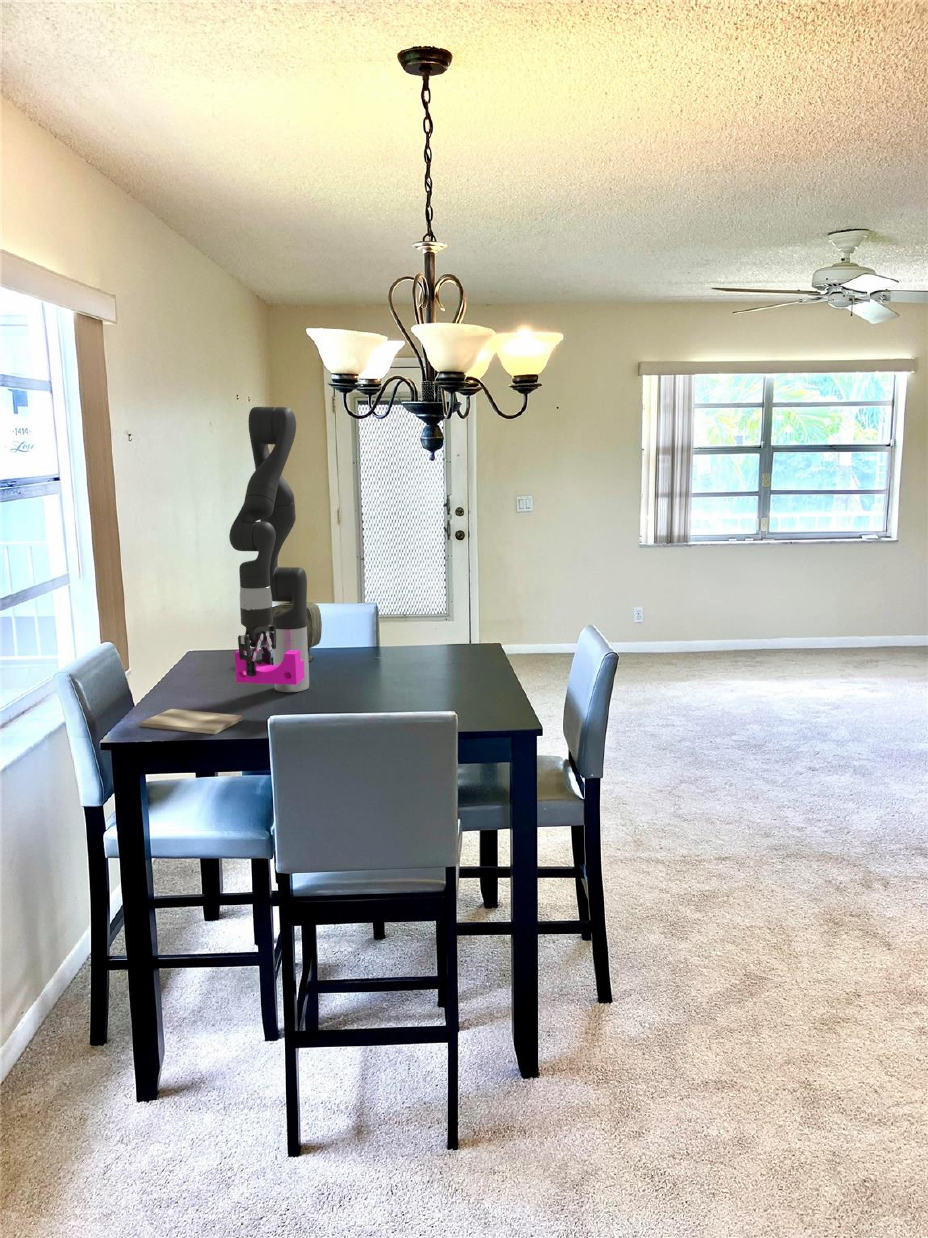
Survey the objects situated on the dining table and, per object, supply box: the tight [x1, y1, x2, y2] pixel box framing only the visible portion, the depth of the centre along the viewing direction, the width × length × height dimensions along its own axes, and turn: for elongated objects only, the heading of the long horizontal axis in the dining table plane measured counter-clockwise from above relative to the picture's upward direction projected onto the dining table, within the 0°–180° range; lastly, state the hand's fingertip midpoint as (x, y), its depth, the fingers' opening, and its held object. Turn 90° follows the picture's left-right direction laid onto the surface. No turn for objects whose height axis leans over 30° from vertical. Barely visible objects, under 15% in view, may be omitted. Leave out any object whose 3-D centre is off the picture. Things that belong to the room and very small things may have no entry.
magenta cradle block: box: [234, 649, 305, 685], centre depth 214 cm, size 15×6×8 cm, turn 82°
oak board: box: [139, 708, 244, 735], centre depth 210 cm, size 12×20×1 cm, turn 73°
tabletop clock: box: [270, 601, 323, 662], centre depth 276 cm, size 14×9×25 cm, turn 77°
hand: (259, 671), depth 215 cm, fingers closed on magenta cradle block, 7 cm apart
